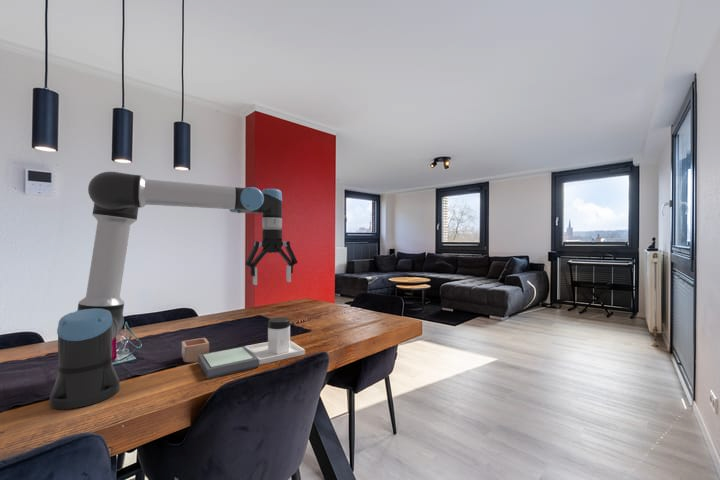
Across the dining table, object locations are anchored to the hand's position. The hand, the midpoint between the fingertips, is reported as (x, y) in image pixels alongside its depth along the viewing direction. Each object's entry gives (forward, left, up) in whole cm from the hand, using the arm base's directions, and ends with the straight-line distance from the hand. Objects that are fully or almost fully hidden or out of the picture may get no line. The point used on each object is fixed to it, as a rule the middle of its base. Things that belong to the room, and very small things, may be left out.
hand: (272, 283), depth 129 cm
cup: (-26, +9, -27) cm, 38 cm away
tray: (0, -2, -27) cm, 27 cm away
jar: (+2, -2, -26) cm, 26 cm away
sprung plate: (-18, -5, -24) cm, 31 cm away
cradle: (-18, -5, -27) cm, 33 cm away
